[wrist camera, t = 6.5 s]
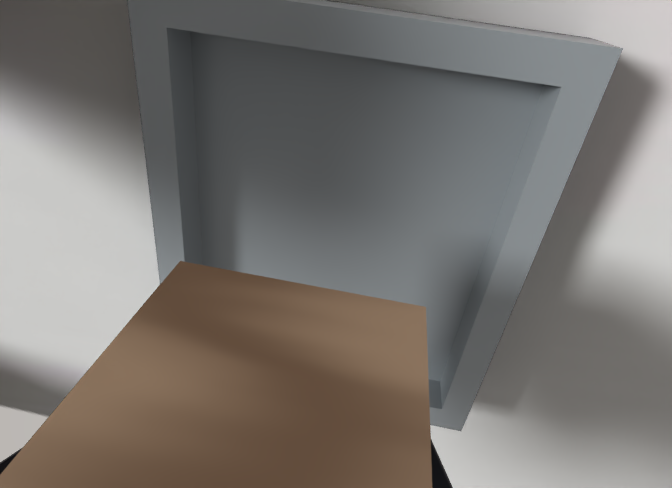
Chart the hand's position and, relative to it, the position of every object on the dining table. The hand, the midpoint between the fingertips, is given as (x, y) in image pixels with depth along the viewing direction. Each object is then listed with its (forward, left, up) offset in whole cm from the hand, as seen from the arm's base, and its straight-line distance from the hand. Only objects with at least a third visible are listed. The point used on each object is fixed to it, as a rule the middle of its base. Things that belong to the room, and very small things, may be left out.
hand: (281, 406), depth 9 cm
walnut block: (0, 0, -1) cm, 1 cm away
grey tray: (0, 0, -8) cm, 8 cm away
